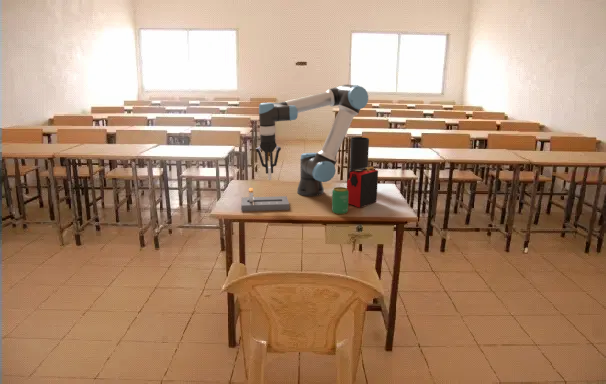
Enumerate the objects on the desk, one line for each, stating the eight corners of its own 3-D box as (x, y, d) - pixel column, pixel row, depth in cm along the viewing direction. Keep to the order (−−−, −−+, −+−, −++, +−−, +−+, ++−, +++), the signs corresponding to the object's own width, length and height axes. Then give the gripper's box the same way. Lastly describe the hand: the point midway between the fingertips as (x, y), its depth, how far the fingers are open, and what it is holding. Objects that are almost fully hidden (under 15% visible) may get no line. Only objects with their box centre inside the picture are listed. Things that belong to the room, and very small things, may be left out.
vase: (367, 191, 266) (370, 140, 257) (350, 191, 266) (352, 140, 257) (365, 186, 276) (367, 137, 267) (348, 186, 275) (350, 137, 267)
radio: (362, 198, 252) (364, 162, 247) (377, 202, 245) (379, 166, 240) (344, 204, 241) (345, 167, 236) (359, 208, 235) (360, 170, 229)
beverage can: (342, 208, 234) (343, 186, 231) (350, 213, 228) (351, 190, 224) (328, 210, 231) (329, 187, 228) (337, 215, 224) (337, 192, 221)
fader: (253, 203, 239) (253, 187, 237) (253, 206, 234) (253, 190, 232) (249, 204, 239) (248, 188, 236) (249, 207, 234) (249, 190, 231)
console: (286, 201, 245) (286, 195, 245) (289, 209, 232) (289, 203, 231) (241, 202, 243) (241, 197, 242) (241, 211, 229) (241, 205, 228)
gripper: (279, 132, 234) (281, 176, 241) (254, 133, 232) (256, 178, 239) (281, 134, 227) (283, 180, 233) (254, 136, 225) (257, 182, 232)
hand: (269, 179), depth 236 cm, fingers closed
